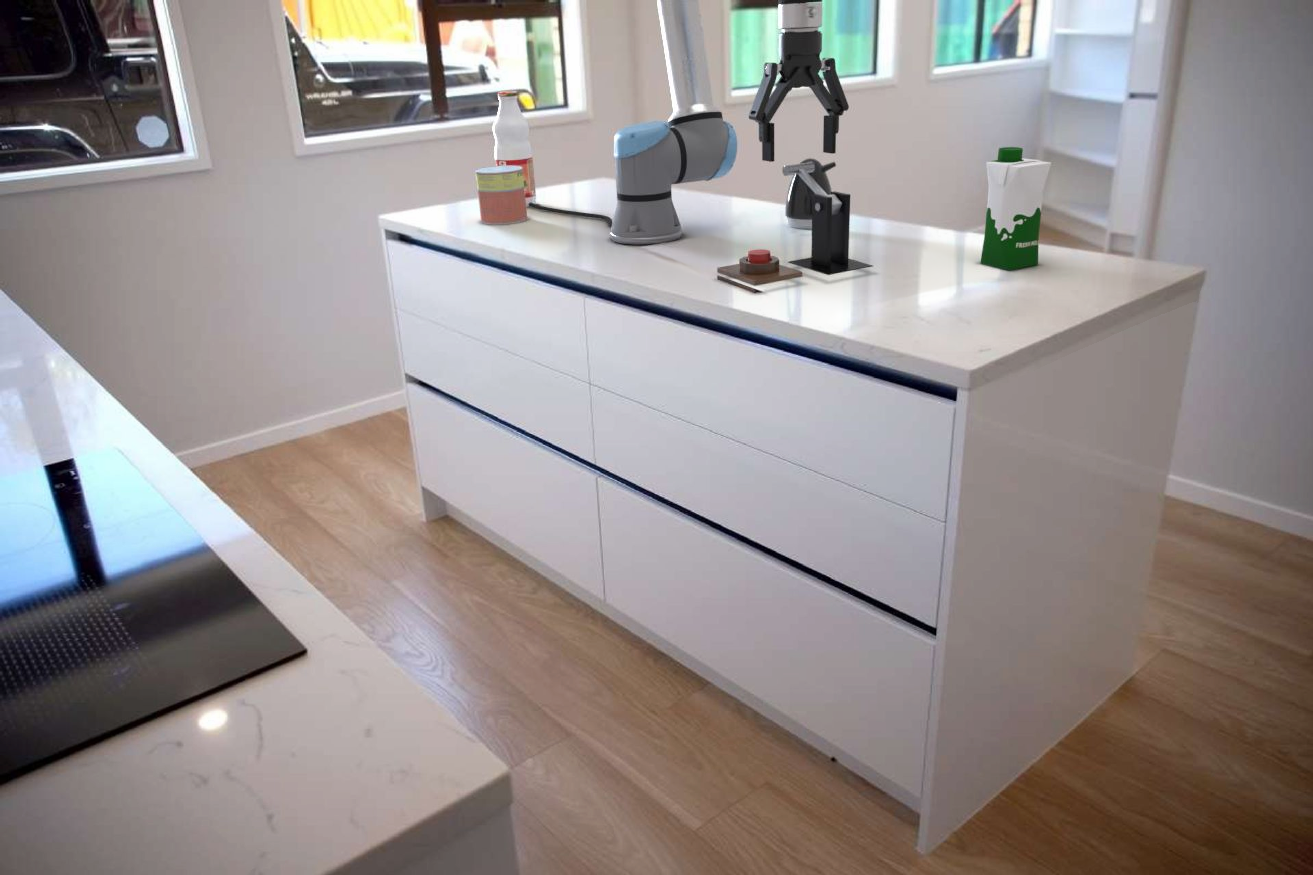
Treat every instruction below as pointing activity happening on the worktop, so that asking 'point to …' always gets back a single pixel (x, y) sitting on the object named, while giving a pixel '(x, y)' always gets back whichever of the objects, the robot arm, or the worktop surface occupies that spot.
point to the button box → (756, 273)
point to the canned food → (501, 195)
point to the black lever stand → (830, 237)
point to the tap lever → (811, 182)
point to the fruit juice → (514, 141)
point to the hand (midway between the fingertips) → (799, 157)
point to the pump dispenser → (805, 195)
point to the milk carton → (1013, 210)
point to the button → (759, 256)
